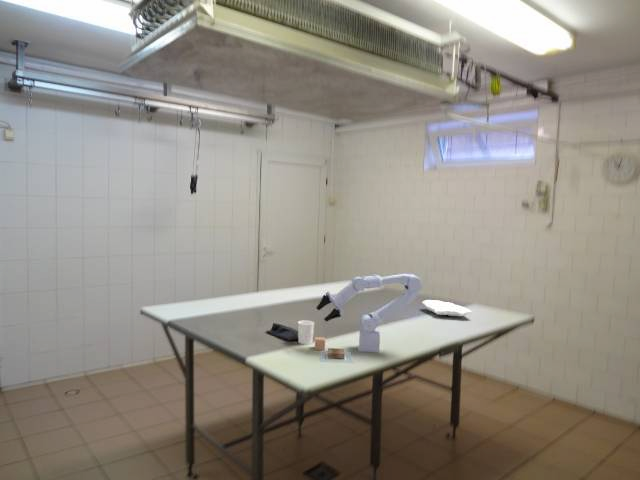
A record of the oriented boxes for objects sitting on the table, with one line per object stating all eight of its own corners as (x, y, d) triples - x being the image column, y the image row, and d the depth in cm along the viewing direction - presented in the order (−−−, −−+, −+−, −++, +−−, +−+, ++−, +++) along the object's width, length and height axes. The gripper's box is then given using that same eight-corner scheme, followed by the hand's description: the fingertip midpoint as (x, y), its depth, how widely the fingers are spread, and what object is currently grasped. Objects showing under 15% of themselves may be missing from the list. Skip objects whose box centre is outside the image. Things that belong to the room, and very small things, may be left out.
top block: (324, 348, 217) (324, 337, 217) (324, 351, 212) (325, 340, 212) (314, 347, 217) (315, 337, 216) (314, 350, 212) (315, 340, 212)
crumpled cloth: (458, 322, 273) (460, 306, 273) (409, 309, 299) (412, 295, 299) (478, 322, 289) (480, 308, 289) (430, 310, 315) (432, 297, 315)
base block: (343, 354, 208) (343, 348, 208) (344, 359, 201) (344, 353, 201) (327, 353, 208) (328, 348, 208) (328, 358, 201) (328, 353, 201)
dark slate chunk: (286, 344, 222) (286, 334, 221) (264, 332, 239) (264, 323, 239) (312, 340, 230) (312, 330, 230) (289, 329, 248) (289, 320, 248)
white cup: (313, 340, 228) (314, 320, 227) (313, 345, 220) (314, 324, 219) (297, 340, 228) (298, 320, 227) (296, 345, 220) (297, 324, 219)
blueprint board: (350, 352, 211) (350, 351, 211) (353, 363, 197) (353, 362, 197) (319, 351, 211) (319, 350, 211) (320, 362, 197) (320, 361, 197)
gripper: (332, 282, 217) (310, 300, 217) (348, 302, 207) (325, 322, 207) (338, 288, 222) (316, 306, 222) (354, 309, 212) (331, 328, 212)
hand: (321, 314), depth 215 cm, fingers open, 7 cm apart
